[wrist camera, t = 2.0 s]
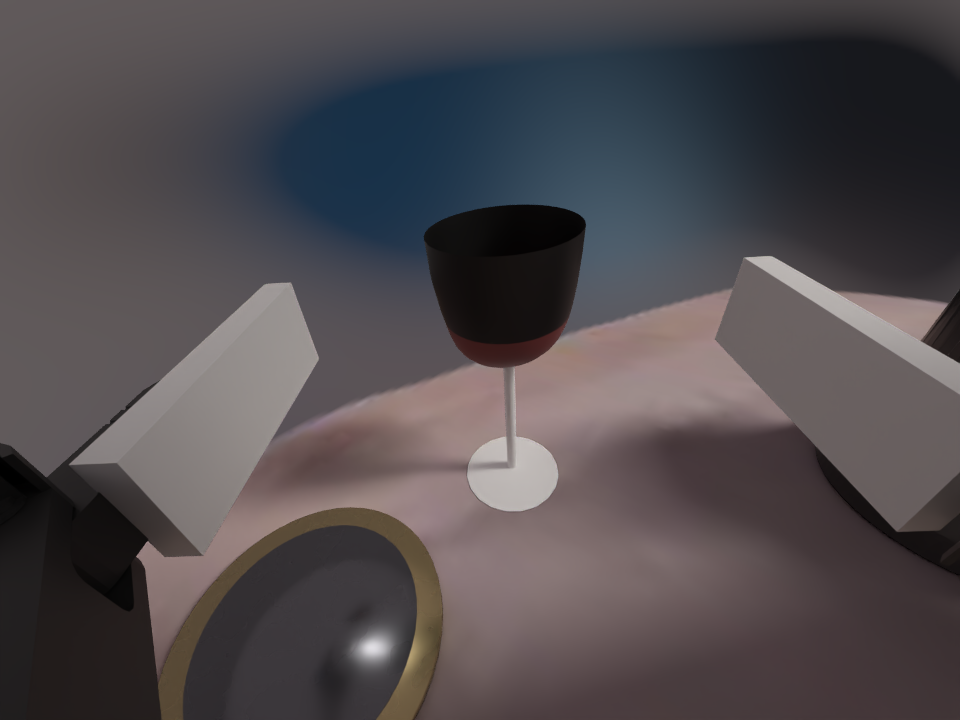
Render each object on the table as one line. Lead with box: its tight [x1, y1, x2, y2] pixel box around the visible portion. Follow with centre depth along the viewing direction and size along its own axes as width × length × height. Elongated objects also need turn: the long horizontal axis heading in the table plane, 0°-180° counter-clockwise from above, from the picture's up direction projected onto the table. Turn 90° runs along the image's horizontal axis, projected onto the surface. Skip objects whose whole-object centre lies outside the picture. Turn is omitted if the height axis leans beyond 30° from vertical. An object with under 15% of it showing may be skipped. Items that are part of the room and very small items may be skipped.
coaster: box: [158, 507, 443, 720], centre depth 23 cm, size 16×16×1 cm
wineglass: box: [424, 205, 586, 511], centre depth 26 cm, size 8×9×20 cm
